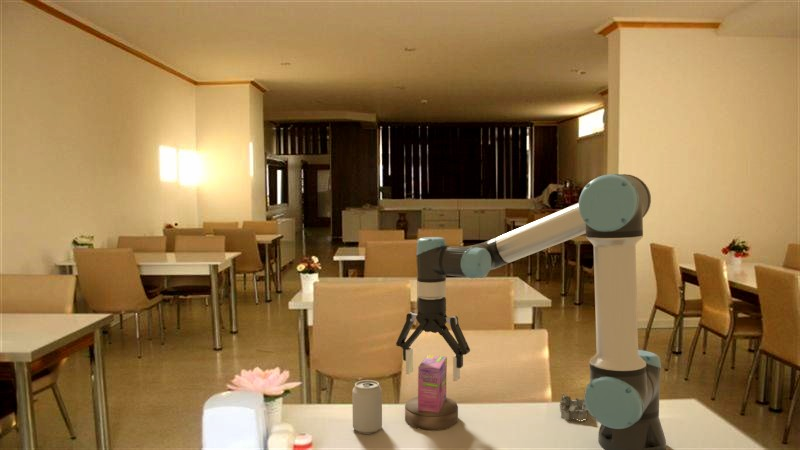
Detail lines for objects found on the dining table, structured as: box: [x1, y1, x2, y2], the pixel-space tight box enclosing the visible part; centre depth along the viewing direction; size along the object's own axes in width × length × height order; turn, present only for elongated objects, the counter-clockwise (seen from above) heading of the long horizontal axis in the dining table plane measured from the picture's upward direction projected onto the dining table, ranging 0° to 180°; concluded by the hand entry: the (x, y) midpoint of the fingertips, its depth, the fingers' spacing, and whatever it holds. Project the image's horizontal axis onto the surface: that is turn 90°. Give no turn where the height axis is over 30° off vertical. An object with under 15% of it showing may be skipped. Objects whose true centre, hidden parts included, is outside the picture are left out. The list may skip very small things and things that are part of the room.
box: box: [417, 354, 448, 413], centre depth 160 cm, size 10×6×12 cm, turn 165°
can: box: [351, 379, 383, 435], centre depth 154 cm, size 8×8×12 cm
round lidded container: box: [404, 396, 459, 432], centre depth 160 cm, size 14×14×4 cm
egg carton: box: [559, 392, 588, 422], centre depth 164 cm, size 11×8×4 cm
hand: (432, 376), depth 159 cm, fingers open, 13 cm apart
